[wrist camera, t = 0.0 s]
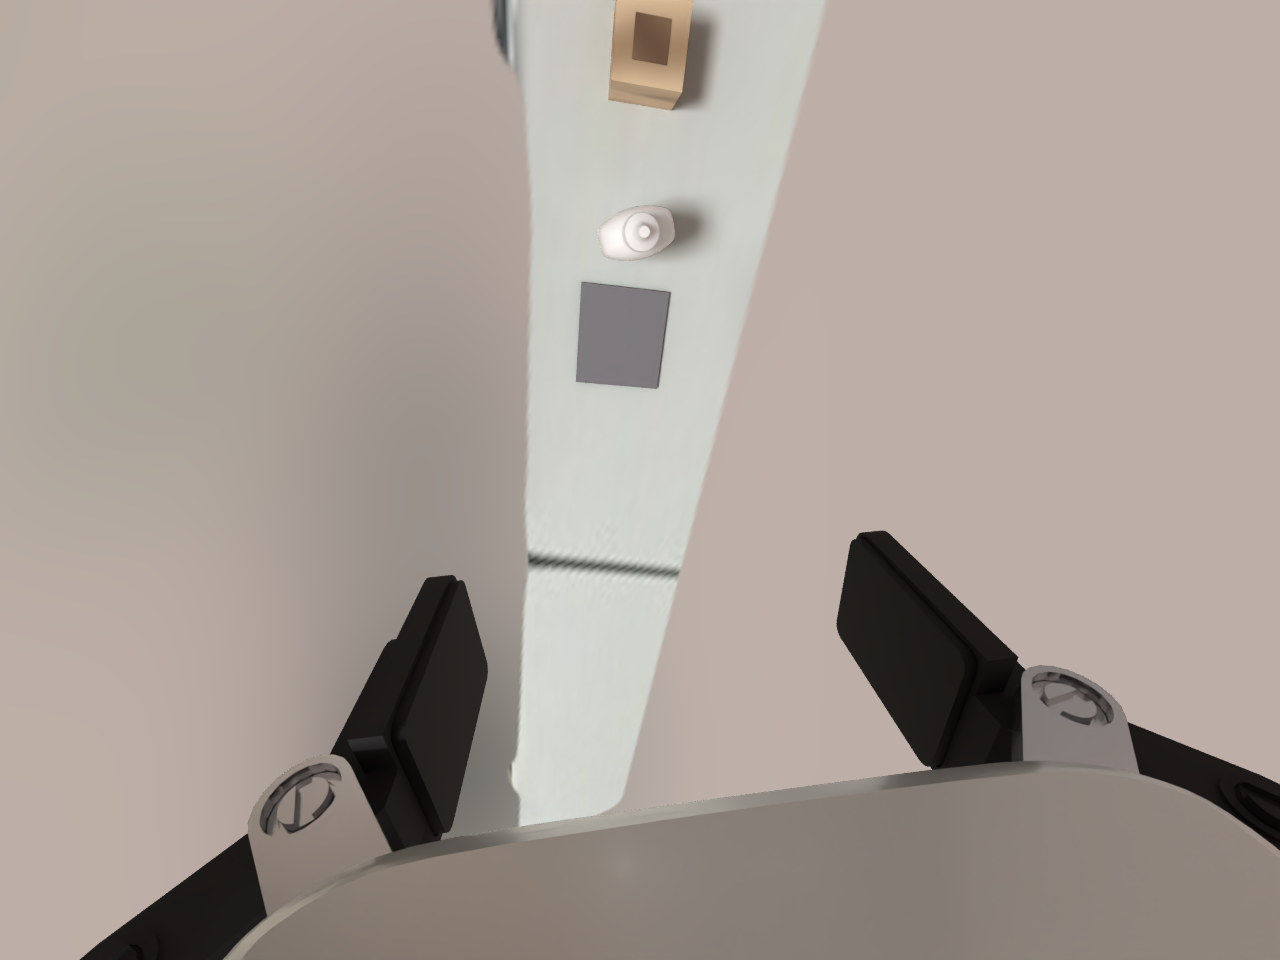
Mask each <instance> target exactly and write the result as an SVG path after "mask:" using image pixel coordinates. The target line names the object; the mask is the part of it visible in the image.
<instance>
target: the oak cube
mask: <svg viewBox="0 0 1280 960" xmlns="http://www.w3.org/2000/svg"><path fill="white" fill-rule="evenodd" d="M692 7H693V0H616V3H615V12H614V24H613V39H612V54H611V69H610V84H609V98H608V100H613V101H618V102H624V103H630V104H636V105H642V106H648V107H654V108H660V109H665V110H672V108H673V107H674V105H675V103H676V102H677V100H678V98H679V97H680V95H681V93H682V89H683V81H684V73H685V65H686V56H687V48H688V40H689V32H690V23H691V15H692Z"/></svg>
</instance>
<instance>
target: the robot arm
mask: <svg viewBox="0 0 1280 960" xmlns="http://www.w3.org/2000/svg"><path fill="white" fill-rule="evenodd" d="M837 630H838V633H839V636H840V638H841V639H842V641H843V642H844V644H845V645H846V647H847V648H848V650H849V652H850V653H851V655H852V656H853V658H854V659H855V661H856V662H857V664H858V665H859V667H860V669H861V670H862V672H863V673H864V675H865V676H866V678H867V680H868V681H869V682H870V684H871V686H872V687H873V689H874V690H875V692H876V693H877V695H878V697H879V698H880V699H881V701H882V703H883V704H884V706H885V708H886V709H887V711H888V712H889V714H890V715H891V717H892V718H893V720H894V722H895V723H896V725H897V726H898V728H899V729H900V731H901V732H902V734H903V735H904V737H905V739H906V740H907V742H908V743H909V745H910V746H911V748H912V749H913V751H914V753H915V754H916V756H917V757H918V759H919V760H920V761H921V763H923V764H924V765H925V766H927V767H928V766H930V767H931V768H932V770H927V771H919V772H911V773H904V774H896V775H888V776H881V777H873V778H866V779H859V780H851V781H843V782H835V783H828V784H820V785H812V786H805V787H797V788H790V789H783V790H775V791H769V792H761V793H753V794H746V795H740V796H732V797H725V798H717V799H710V800H703V801H695V802H688V803H682V804H674V805H667V806H659V807H653V808H645V809H639V810H631V811H624V812H618V813H611V814H603V815H597V816H590V817H583V818H576V819H569V820H562V821H555V822H548V823H541V824H534V825H528V826H522V827H516V828H510V829H503V830H497V831H491V832H485V833H479V834H472V835H466V836H461V837H454V838H449V839H445V840H441V836H442V833H447V832H449V831H450V829H451V827H452V824H453V821H454V817H455V812H456V808H457V804H458V800H459V795H460V791H461V787H462V783H463V778H464V774H465V770H466V766H467V761H468V757H469V753H470V749H471V744H472V740H473V736H474V732H475V727H476V723H477V719H478V715H479V710H480V706H481V702H482V698H483V693H484V689H485V685H486V681H487V674H488V668H487V661H486V657H485V653H484V650H483V647H482V643H481V639H480V636H479V632H478V629H477V625H476V622H475V618H474V615H473V611H472V607H471V604H470V600H469V597H468V593H467V590H466V586H465V583H464V582H463V581H462V580H460V581H457V580H456V578H455V576H453V575H448V576H438V577H429V578H427V579H426V580H425V582H424V584H423V586H422V588H421V590H420V592H419V594H418V596H417V598H416V600H415V602H414V604H413V606H412V608H411V610H410V612H409V614H408V616H407V618H406V620H405V622H404V624H403V626H402V628H401V631H400V633H399V635H398V637H397V639H394V640H391V641H390V642H388V643H387V645H386V646H385V648H384V649H383V651H382V653H381V655H380V657H379V659H378V661H377V663H376V665H375V667H374V669H373V671H372V673H371V675H370V677H369V678H368V680H367V682H366V684H365V686H364V688H363V690H362V692H361V695H360V696H359V698H358V700H357V702H356V704H355V706H354V708H353V710H352V712H351V714H350V716H349V718H348V720H347V722H346V724H345V726H344V728H343V729H342V732H341V733H340V735H339V738H338V739H337V741H336V743H335V745H334V747H333V749H332V751H331V753H330V755H320V756H316V757H313V758H310V759H307V760H305V761H303V762H301V763H299V764H297V765H295V766H293V767H292V768H290V769H289V770H287V771H286V772H285V773H284V774H282V775H281V776H280V777H278V778H277V779H276V780H275V781H274V782H273V783H272V784H271V785H270V786H269V787H268V788H267V789H266V790H265V791H264V792H263V794H262V795H261V797H260V798H259V800H258V801H257V803H256V804H255V806H254V807H253V810H252V812H251V815H250V818H249V821H248V834H246V835H245V836H243V837H242V838H241V839H239V840H238V841H237V842H235V843H234V844H233V845H231V846H230V847H228V848H227V849H226V850H224V851H223V852H222V853H220V854H219V855H218V856H216V857H215V858H214V859H212V860H211V861H210V862H208V863H207V864H206V865H204V866H203V867H202V868H200V869H199V870H197V871H196V872H195V873H194V874H192V875H191V876H189V877H188V878H187V879H186V880H184V881H183V882H181V883H180V884H179V885H177V886H176V887H174V888H173V889H172V890H170V891H169V892H168V893H166V894H165V895H164V896H162V897H161V898H160V899H158V900H157V901H156V902H154V903H153V904H152V905H150V906H149V907H148V908H146V909H145V910H143V911H142V912H141V913H140V914H138V915H137V916H135V917H134V918H133V919H131V920H130V921H129V922H127V923H126V924H125V925H123V926H122V927H121V928H119V929H118V930H116V931H115V932H114V933H112V934H111V935H110V936H108V937H107V938H106V939H104V940H103V941H102V942H100V943H99V944H98V945H97V946H95V947H94V948H93V949H92V950H91V951H89V952H88V953H87V954H86V955H85V956H84V957H82V958H81V959H80V960H1280V784H1278V783H1276V782H1274V781H1272V780H1270V779H1267V778H1265V777H1263V776H1261V775H1259V774H1256V773H1254V772H1251V771H1249V770H1246V769H1244V768H1241V767H1239V766H1236V765H1234V764H1231V763H1229V762H1226V761H1224V760H1221V759H1219V758H1216V757H1214V756H1211V755H1209V754H1206V753H1204V752H1201V751H1199V750H1196V749H1193V748H1191V747H1189V746H1186V745H1184V744H1181V743H1178V742H1176V741H1174V740H1171V739H1169V738H1166V737H1164V736H1161V735H1158V734H1156V733H1154V732H1151V731H1149V730H1146V729H1144V728H1141V727H1139V726H1136V725H1134V724H1131V723H1128V722H1127V719H1126V716H1125V714H1124V712H1123V709H1122V707H1121V706H1120V704H1119V703H1118V702H1117V701H1116V700H1115V699H1114V698H1113V697H1112V695H1110V694H1109V693H1108V692H1107V691H1105V690H1104V689H1103V688H1102V687H1100V686H1099V685H1098V684H1096V683H1094V682H1092V681H1091V680H1089V679H1087V678H1085V677H1084V676H1081V675H1079V674H1076V673H1074V672H1072V671H1069V670H1066V669H1062V668H1058V667H1054V666H1042V665H1039V666H1035V667H1030V668H1028V669H1027V670H1025V669H1024V668H1023V667H1022V666H1021V665H1020V664H1019V663H1018V662H1017V659H1018V656H1017V655H1016V654H1014V653H1013V652H1012V651H1011V650H1010V649H1009V648H1008V647H1007V646H1006V645H1005V644H1004V643H1003V642H1002V641H1001V640H1000V639H999V638H998V637H997V636H996V635H995V634H993V633H992V632H991V631H990V630H989V629H988V628H987V627H986V626H985V625H984V624H983V623H982V622H981V621H980V620H979V619H978V618H977V617H976V616H975V615H974V614H973V613H972V612H971V611H969V610H968V609H967V608H966V607H965V606H964V605H963V604H962V603H961V602H960V601H959V600H958V599H957V598H956V597H955V596H953V594H952V593H951V592H949V590H948V589H947V588H945V587H944V586H943V585H942V584H941V583H940V582H939V581H938V580H937V579H936V578H935V577H934V576H933V575H932V574H931V573H930V572H929V571H927V569H926V568H924V567H923V566H922V565H921V564H920V563H919V562H918V561H917V560H916V559H915V558H914V557H913V556H912V555H911V554H910V553H909V552H908V551H907V550H906V549H905V548H904V547H903V546H902V545H900V544H899V543H898V542H897V541H896V540H895V539H894V538H893V537H892V536H891V535H890V534H889V533H887V532H886V531H873V532H863V533H860V534H859V535H858V536H857V538H856V539H854V540H852V542H851V544H850V549H849V555H848V560H847V566H846V572H845V577H844V583H843V588H842V594H841V600H840V605H839V611H838V617H837Z"/></svg>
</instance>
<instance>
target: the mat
mask: <svg viewBox="0 0 1280 960" xmlns="http://www.w3.org/2000/svg"><path fill="white" fill-rule="evenodd" d="M668 300H669V292H662V291H654V290H645V289H636V288H628V287H619V286H611V285H602V284H593V283H585V282H582V284H581V302H580V321H579V339H578V357H577V375H576V382H585V383H596V384H608V385H619V386H631V387H642V388H654V389H657V383H658V376H659V368H660V361H661V353H662V345H663V338H664V330H665V323H666V315H667V307H668Z"/></svg>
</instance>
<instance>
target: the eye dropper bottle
mask: <svg viewBox="0 0 1280 960" xmlns="http://www.w3.org/2000/svg"><path fill="white" fill-rule="evenodd" d="M597 237H598V242H599V246H600V249H601V252H602V254H603V255H604V256H605V257H607V258H610V259H614V260H622V261H630V260H638V259H643V258H646V257H649V256H651V255H654V254H656V253H658V252H659V251H661V250H662V249H664V248H665V247H666V246H668V245H669V244H670V243H671V242H672V241H673V239H674V237H675V228H674V222H673V217H672V214H671V212H670V211H669V210H668V209H666V208H663V207H659V206H650V205H645V206H636V207H632V208H629V209H626V210H623V211H621V212H619V213H617V214H616V215H614V216H612V217H611V218H610V219H608V220H607V221H606V222H605V223H603V224H602V225H601V226H600V228H599V230H598V231H597Z"/></svg>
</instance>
